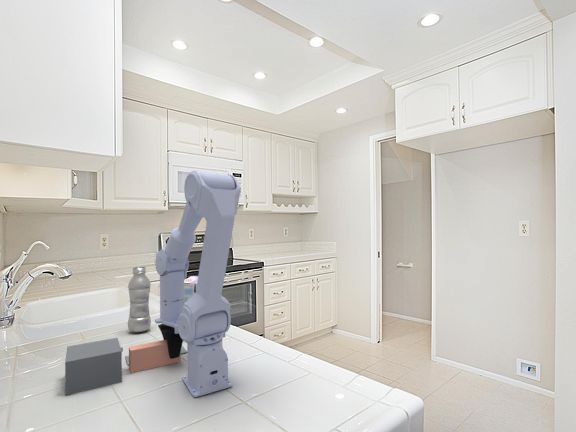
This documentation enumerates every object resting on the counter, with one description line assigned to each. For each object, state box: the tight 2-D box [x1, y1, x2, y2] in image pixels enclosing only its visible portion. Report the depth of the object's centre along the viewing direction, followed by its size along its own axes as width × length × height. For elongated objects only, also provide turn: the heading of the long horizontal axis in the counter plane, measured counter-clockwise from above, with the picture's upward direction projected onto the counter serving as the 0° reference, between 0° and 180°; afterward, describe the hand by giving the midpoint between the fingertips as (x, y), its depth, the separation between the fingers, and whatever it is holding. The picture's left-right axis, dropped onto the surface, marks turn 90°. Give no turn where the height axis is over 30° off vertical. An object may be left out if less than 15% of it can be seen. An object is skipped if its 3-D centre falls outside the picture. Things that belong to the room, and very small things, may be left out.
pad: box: [124, 345, 187, 367], centre depth 84 cm, size 6×14×1 cm, turn 122°
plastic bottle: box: [127, 266, 152, 333], centre depth 104 cm, size 6×7×20 cm
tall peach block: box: [128, 339, 181, 374], centre depth 79 cm, size 3×11×5 cm, turn 122°
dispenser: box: [64, 337, 124, 396], centre depth 72 cm, size 10×10×6 cm
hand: (172, 355), depth 81 cm, fingers closed on tall peach block, 3 cm apart
